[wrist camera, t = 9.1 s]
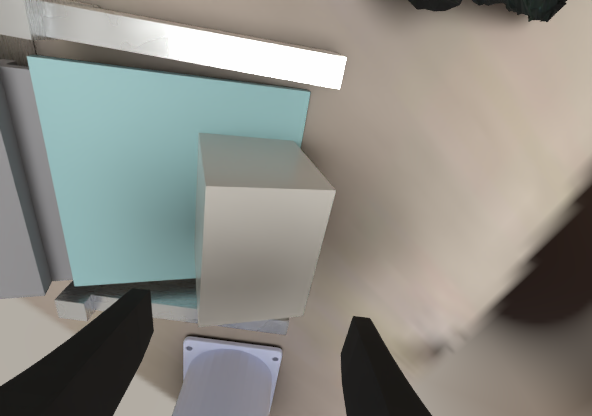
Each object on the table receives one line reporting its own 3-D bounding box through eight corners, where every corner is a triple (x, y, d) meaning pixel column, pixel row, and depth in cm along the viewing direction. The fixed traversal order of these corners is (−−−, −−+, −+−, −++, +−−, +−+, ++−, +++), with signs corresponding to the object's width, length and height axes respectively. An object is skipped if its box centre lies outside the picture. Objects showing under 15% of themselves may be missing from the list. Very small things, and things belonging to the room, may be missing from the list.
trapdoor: (272, 257, 24) (282, 283, 21) (-46, 273, 18) (-79, 312, 16) (300, 85, 18) (317, 96, 16) (-151, 26, 12) (-229, 29, 10)
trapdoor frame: (288, 291, 24) (285, 346, 20) (52, 258, 23) (-4, 309, 19) (337, 50, 16) (349, 56, 12) (-12, -15, 15) (-133, -34, 11)
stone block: (274, 244, 21) (303, 315, 16) (194, 247, 19) (198, 327, 14) (293, 140, 18) (336, 190, 13) (198, 132, 16) (205, 185, 11)
